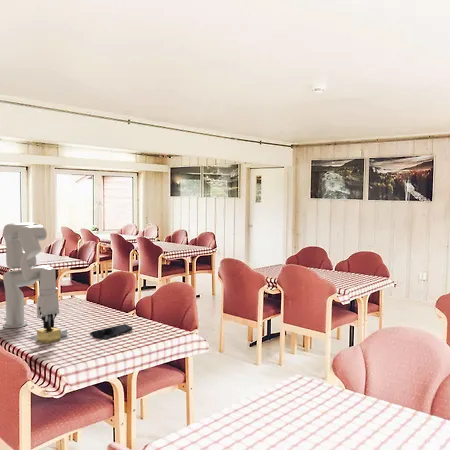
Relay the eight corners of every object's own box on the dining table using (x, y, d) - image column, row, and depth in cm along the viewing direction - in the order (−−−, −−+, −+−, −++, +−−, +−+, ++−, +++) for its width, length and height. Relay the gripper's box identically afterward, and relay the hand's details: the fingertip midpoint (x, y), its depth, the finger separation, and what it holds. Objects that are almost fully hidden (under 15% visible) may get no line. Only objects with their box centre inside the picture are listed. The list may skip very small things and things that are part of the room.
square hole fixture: (26, 340, 248) (25, 328, 248) (51, 333, 261) (50, 322, 260) (48, 347, 238) (47, 334, 238) (72, 339, 251) (72, 327, 250)
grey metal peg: (45, 330, 245) (45, 314, 244) (49, 329, 247) (49, 313, 246) (48, 330, 244) (48, 315, 243) (52, 329, 246) (52, 314, 245)
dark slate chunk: (136, 332, 266) (136, 323, 266) (103, 341, 250) (102, 332, 249) (119, 327, 276) (119, 318, 276) (86, 335, 260) (85, 326, 259)
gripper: (56, 288, 253) (57, 323, 254) (29, 293, 240) (30, 330, 241) (66, 290, 249) (66, 325, 250) (38, 295, 235) (39, 332, 236)
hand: (48, 327), depth 245 cm, fingers closed on grey metal peg, 2 cm apart
